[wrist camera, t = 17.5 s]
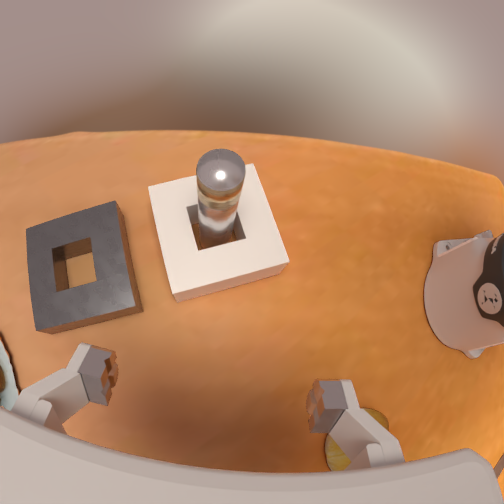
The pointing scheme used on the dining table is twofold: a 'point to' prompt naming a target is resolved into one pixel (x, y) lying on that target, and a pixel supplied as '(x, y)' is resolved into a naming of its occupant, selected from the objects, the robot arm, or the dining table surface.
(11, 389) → the food on plate
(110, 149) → the dining table surface
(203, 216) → the shiny cylindrical peg
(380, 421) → the bread roll
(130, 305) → the socket block
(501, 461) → the kitchen knife
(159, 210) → the rack block
